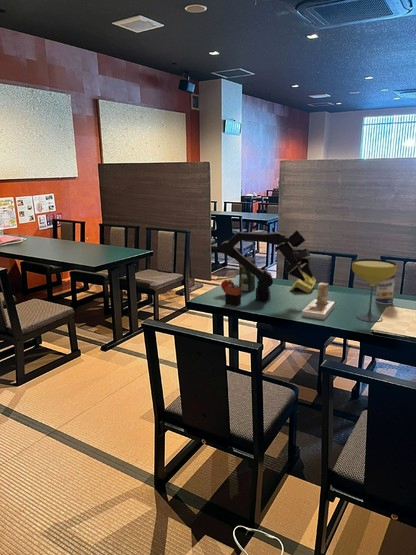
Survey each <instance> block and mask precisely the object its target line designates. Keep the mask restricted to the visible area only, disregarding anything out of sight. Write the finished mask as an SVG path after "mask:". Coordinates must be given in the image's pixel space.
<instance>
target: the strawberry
mask: <svg viewBox="0 0 416 555" xmlns="http://www.w3.org/2000/svg"><path fill="white" fill-rule="evenodd" d="M228 285H232V286H234V285H235V283H234V281H233V280H232V279H229V278H228V279H224V280H223V281H222V282H221V284H220V287H221V289H222V291H223V292H224V293H225V287H227V286H228Z"/></svg>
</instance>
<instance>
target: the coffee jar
mask: <svg viewBox="0 0 416 555" xmlns="http://www.w3.org/2000/svg"><path fill="white" fill-rule="evenodd" d="M246 258H247V259H248V260H249V261H250V262H252V263H253V264H254V265H255V266H256V259H255V257H253V256H246ZM238 267H239V277H238V287H241V292H243V293H244V292H252V291H254V290H256V276H255V275H254V274H252V273H251V272H250V271H249V270H248V269H246V268H245V267H244V266H243V265H241V264H240V263H239V262H238Z"/></svg>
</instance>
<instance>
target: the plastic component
mask: <svg viewBox="0 0 416 555" xmlns="http://www.w3.org/2000/svg"><path fill="white" fill-rule="evenodd" d="M301 273H302V275H303V276H304V278H305V281H302V280H300V279H299V278H297V279H296V280H295V282H294V283H293V284H292V286H291V287H290V290H289V291H292V292H293V291H294V289H296V288H297V289H298V290H301V291H303V292H305V293H308V294H309V293H311V291H312V290H313V288H314V286H315V284H316V282H317V280H316V278H315V277H314V276H313V277H310V276H308V275H307V274H306V273H304V272H303V271H302V272H301Z"/></svg>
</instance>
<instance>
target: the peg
mask: <svg viewBox="0 0 416 555" xmlns="http://www.w3.org/2000/svg"><path fill="white" fill-rule="evenodd" d="M329 284H330V283H328V282H327V283H326V282H319V283H318V284H317V296H316V297H317V298H316V299H317V304H320V305H326V306H327V301H329V298H328V297H329Z"/></svg>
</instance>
